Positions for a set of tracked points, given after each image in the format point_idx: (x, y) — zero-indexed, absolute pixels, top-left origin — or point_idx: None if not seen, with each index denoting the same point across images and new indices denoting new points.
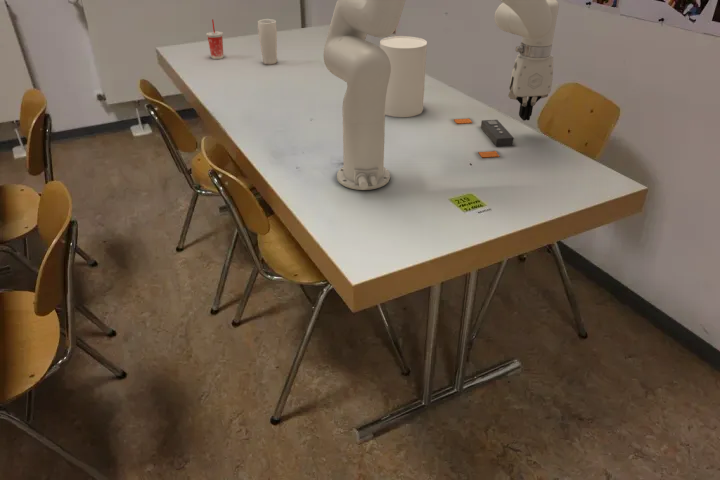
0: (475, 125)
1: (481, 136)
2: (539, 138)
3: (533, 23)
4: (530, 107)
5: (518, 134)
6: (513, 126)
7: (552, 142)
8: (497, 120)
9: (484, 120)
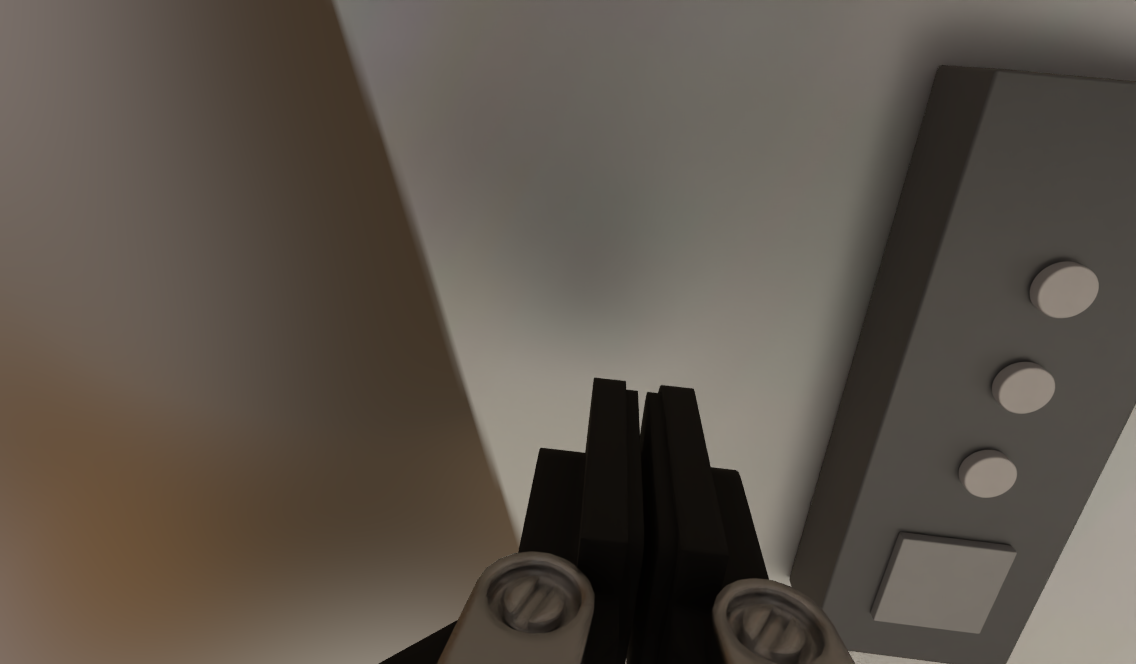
0: None
1: None
2: (470, 196)
3: None
4: (613, 525)
5: (661, 360)
6: None
7: (356, 35)
8: None
9: (973, 660)
